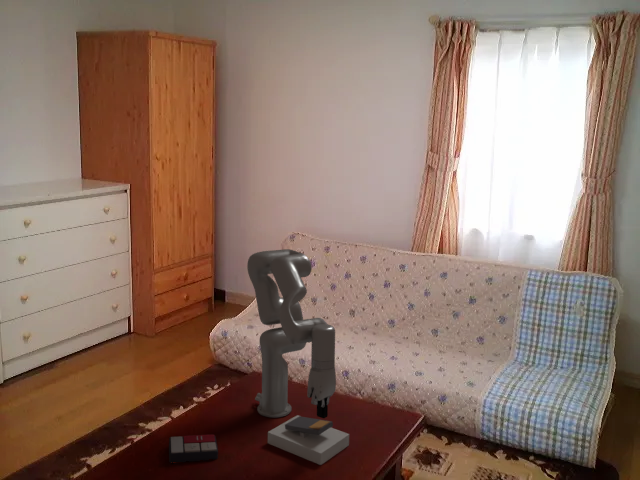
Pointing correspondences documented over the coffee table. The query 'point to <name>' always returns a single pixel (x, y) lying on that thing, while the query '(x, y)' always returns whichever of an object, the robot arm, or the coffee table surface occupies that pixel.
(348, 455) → the coffee table surface
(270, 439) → the switch box
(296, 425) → the rocker switch
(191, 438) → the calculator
